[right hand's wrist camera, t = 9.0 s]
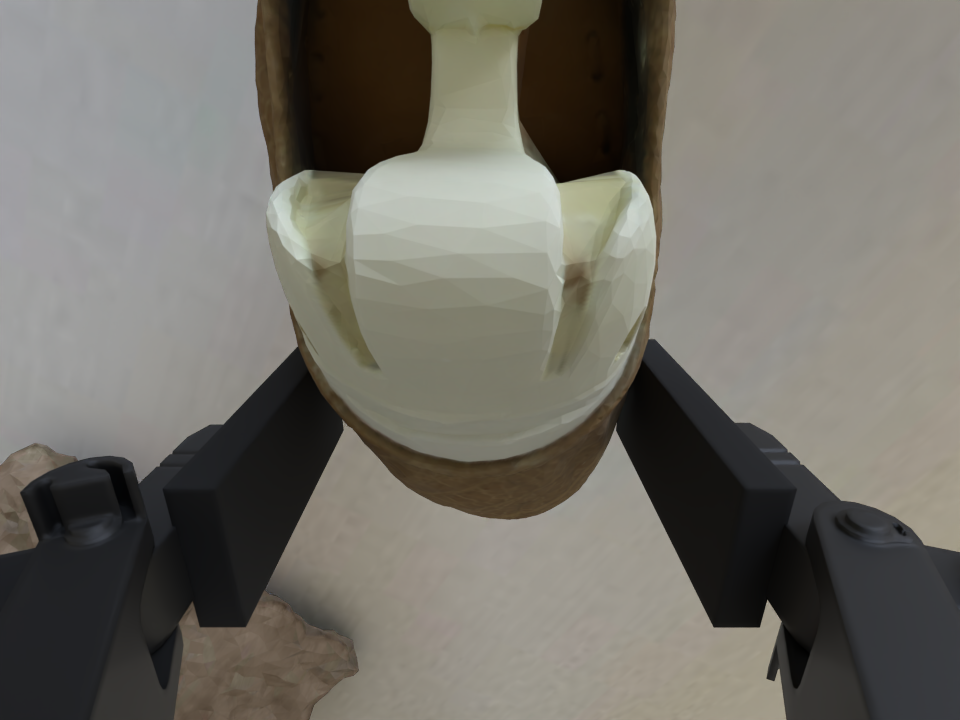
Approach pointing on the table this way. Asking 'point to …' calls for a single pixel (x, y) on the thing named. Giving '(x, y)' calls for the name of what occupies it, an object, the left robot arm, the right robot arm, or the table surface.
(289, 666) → the stone
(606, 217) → the ballet flat
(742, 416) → the table surface
